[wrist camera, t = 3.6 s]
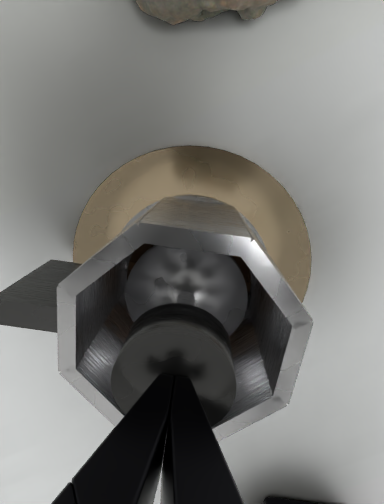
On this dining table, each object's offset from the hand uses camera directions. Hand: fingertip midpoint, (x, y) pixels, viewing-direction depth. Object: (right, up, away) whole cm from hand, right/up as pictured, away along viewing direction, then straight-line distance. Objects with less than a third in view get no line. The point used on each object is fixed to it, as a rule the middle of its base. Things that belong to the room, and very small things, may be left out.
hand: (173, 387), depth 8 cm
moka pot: (0, +3, +8) cm, 9 cm away
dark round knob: (0, +2, +5) cm, 6 cm away
